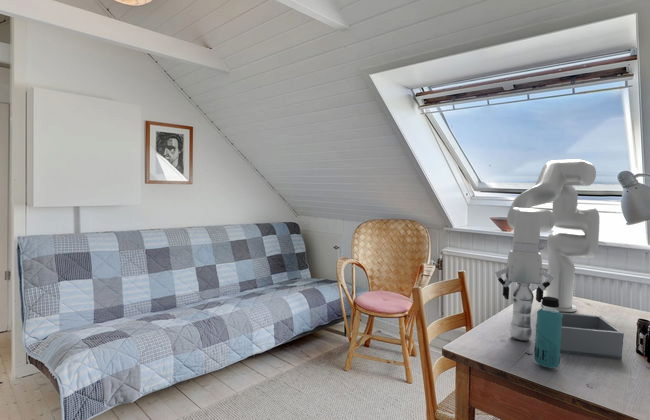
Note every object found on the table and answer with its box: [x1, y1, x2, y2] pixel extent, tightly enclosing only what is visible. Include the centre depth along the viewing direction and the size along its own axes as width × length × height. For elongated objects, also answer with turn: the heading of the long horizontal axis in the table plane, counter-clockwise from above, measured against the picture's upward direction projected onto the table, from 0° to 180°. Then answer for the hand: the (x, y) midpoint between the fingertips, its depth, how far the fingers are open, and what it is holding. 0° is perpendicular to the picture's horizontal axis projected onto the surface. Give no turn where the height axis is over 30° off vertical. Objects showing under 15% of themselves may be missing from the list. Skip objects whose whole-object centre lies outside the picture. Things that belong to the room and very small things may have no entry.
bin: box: [560, 312, 625, 361], centre depth 124 cm, size 15×17×8 cm
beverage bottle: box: [533, 296, 563, 369], centre depth 109 cm, size 6×7×20 cm
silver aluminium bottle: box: [509, 282, 535, 342], centre depth 129 cm, size 6×7×20 cm
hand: (522, 299), depth 128 cm, fingers open, 9 cm apart
